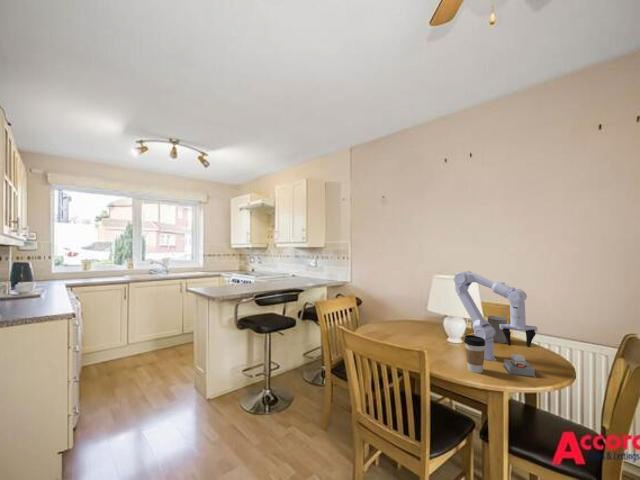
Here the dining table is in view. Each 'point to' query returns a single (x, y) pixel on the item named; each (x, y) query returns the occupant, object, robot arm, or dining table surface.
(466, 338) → the coffee cup
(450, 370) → the dining table surface
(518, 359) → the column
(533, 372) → the stand base
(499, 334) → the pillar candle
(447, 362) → the dining table surface
